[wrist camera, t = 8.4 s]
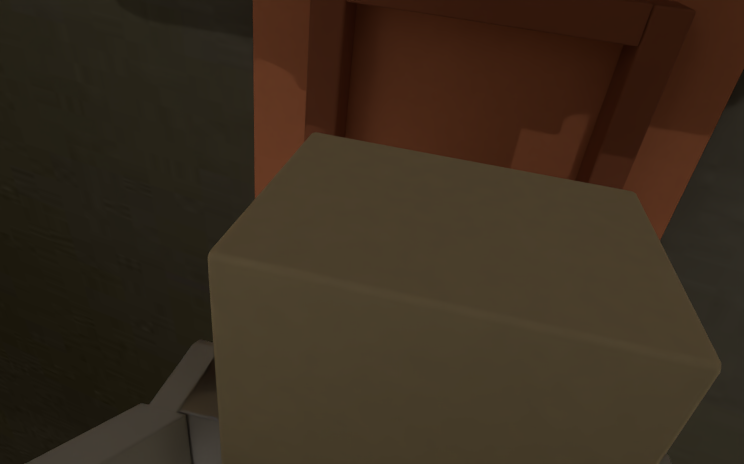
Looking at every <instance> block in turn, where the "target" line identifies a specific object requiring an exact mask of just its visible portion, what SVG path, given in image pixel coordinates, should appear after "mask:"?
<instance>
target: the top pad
mask: <svg viewBox="0 0 744 464" xmlns="http://www.w3.org/2000/svg"><path fill="white" fill-rule="evenodd" d="M208 270H209V285H210V299H211V314H212V328H213V343H214V358H215V372H216V387H217V401H218V416H219V430H220V445H221V460H222V464H659V463H660V462H661V460H662V459H663V457H664V456H665V454H666V453H667V451H668V450H669V448H670V447H671V445H672V444H673V442H674V441H675V439H676V438H677V436H678V435H679V433H680V432H681V430H682V429H683V427H684V426H685V424H686V423H687V421H688V420H689V418H690V417H691V415H692V414H693V412H694V411H695V409H696V408H697V406H698V405H699V403H700V402H701V400H702V399H703V397H704V396H705V394H706V393H707V391H708V390H709V388H710V387H711V385H712V384H713V382H714V381H715V379H716V378H717V376H718V375H719V373H720V372H721V362H720V360H719V358H718V356H717V354H716V352H715V350H714V348H713V346H712V344H711V342H710V340H709V338H708V336H707V334H706V332H705V330H704V328H703V326H702V324H701V322H700V320H699V318H698V316H697V314H696V312H695V310H694V308H693V306H692V304H691V302H690V300H689V298H688V296H687V294H686V292H685V290H684V288H683V286H682V284H681V282H680V280H679V278H678V276H677V274H676V272H675V270H674V268H673V266H672V264H671V262H670V260H669V258H668V256H667V254H666V252H665V250H664V248H663V246H662V244H661V242H660V240H659V238H658V236H657V234H656V232H655V230H654V228H653V226H652V224H651V222H650V221H649V219H648V217H647V215H646V213H645V211H644V209H643V207H642V205H641V203H640V201H639V199H638V197H637V195H636V193H634V192H633V191H627V190H622V189H617V188H611V187H606V186H601V185H595V184H590V183H584V182H579V181H574V180H568V179H563V178H558V177H552V176H547V175H542V174H536V173H531V172H526V171H520V170H515V169H510V168H504V167H499V166H493V165H488V164H483V163H477V162H472V161H467V160H461V159H456V158H451V157H445V156H440V155H435V154H429V153H424V152H418V151H413V150H408V149H402V148H397V147H392V146H386V145H381V144H376V143H370V142H365V141H360V140H354V139H349V138H343V137H338V136H333V135H327V134H322V133H317V132H315V133H312V134H311V135H310V136H309V137H308V138H307V140H306V141H305V142H304V143H303V144H302V145H301V146H300V148H299V149H298V150H297V151H296V152H295V153H294V155H293V156H292V157H291V158H290V159H289V160H288V162H287V163H286V164H285V165H284V166H283V167H282V168H281V170H280V171H279V172H278V173H277V174H276V175H275V177H274V178H273V179H272V180H271V181H270V182H269V183H268V185H267V186H266V187H265V188H264V189H263V190H262V192H261V193H260V194H259V195H258V196H257V197H256V198H255V200H254V201H253V202H252V203H251V204H250V205H249V207H248V208H247V209H246V210H245V211H244V212H243V214H242V215H241V216H240V217H239V218H238V219H237V220H236V222H235V223H234V224H233V225H232V226H231V227H230V229H229V230H228V231H227V232H226V233H225V234H224V235H223V237H222V238H221V239H220V240H219V241H218V242H217V244H216V245H215V246H214V247H213V248H212V249H211V251H210V252H209V254H208Z"/></svg>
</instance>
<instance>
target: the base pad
mask: <svg viewBox="0 0 744 464" xmlns="http://www.w3.org/2000/svg"><path fill="white" fill-rule="evenodd" d="M253 59H254V151H255V198H256V197H257V196H258V195H259V194H260V193H261V192H262V190H263V189H264V188H265V187H266V186H267V185H268V183H269V182H270V181H271V180H272V179H273V178H274V177H275V175H276V174H277V173H278V172H279V171H280V170H281V168H282V167H283V166H284V165H285V164H286V163H287V162H288V160H289V159H290V158H291V157H292V156H293V155H294V153H295V152H296V151H297V150H298V149H299V148H300V146H301V145H302V144H303V143H304V142H305V141H306V140H307V138H308V137H309V136H310V135H311V134H312V133H315V132H317V133H322V134H327V135H333V136H338V137H343V138H349V139H354V140H360V141H365V142H370V143H376V144H381V145H386V146H392V147H397V148H402V149H408V150H413V151H418V152H424V153H429V154H435V155H440V156H445V157H451V158H456V159H461V160H467V161H472V162H477V163H483V164H488V165H493V166H499V167H504V168H510V169H515V170H520V171H526V172H531V173H536V174H542V175H547V176H552V177H558V178H563V179H568V180H574V181H579V182H584V183H590V184H595V185H601V186H606V187H611V188H617V189H622V190H627V191H633V192H634V193H636V195H637V197H638V199H639V201H640V203H641V205H642V207H643V209H644V211H645V213H646V215H647V217H648V219H649V221H650V222H651V224H652V226H653V228H654V230H655V232H656V234H657V236H658V238H659V240H660V239H661V237H662V235H663V233H664V231H665V229H666V227H667V225H668V223H669V221H670V219H671V217H672V215H673V213H674V211H675V208H676V206H677V204H678V202H679V200H680V198H681V196H682V194H683V192H684V190H685V188H686V186H687V184H688V182H689V180H690V178H691V176H692V174H693V172H694V170H695V168H696V166H697V163H698V161H699V159H700V157H701V155H702V153H703V151H704V149H705V147H706V145H707V143H708V141H709V139H710V137H711V135H712V133H713V131H714V129H715V127H716V125H717V123H718V120H719V118H720V116H721V114H722V112H723V110H724V108H725V106H726V104H727V102H728V100H729V98H730V96H731V94H732V92H733V90H734V88H735V86H736V84H737V82H738V80H739V77H740V75H741V73H742V71H743V69H744V0H253Z"/></svg>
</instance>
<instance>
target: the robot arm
mask: <svg viewBox="0 0 744 464" xmlns="http://www.w3.org/2000/svg"><path fill="white" fill-rule="evenodd" d="M26 464H222V460H221V445H220V430H219V416H218V401H217V387H216V372H215V358H214V343H213V342H209V341H205V340H201V339H200V340H198V341H197V342H195V343H194V344H193V345H192V346H191V347H190V349H189V350H188V351H187V353H186V354H185V356H184V357H183V358H182V360H181V361H180V363H179V364H178V365H177V367H176V368H175V369H174V371H173V372H172V374H171V375H170V376H169V378H168V379H167V381H166V382H165V383H164V385H163V386H162V388H161V389H160V390H159V392H158V393H157V394H156V396H155V397H154V399H153V400H152V401H151V403H150V404H149V405H148V404H143V403H141V404H139V405H137V406H135V407H133V408H131V409H129V410H127V411H125V412H123V413H121V414H120V415H118V416H116V417H114V418H112V419H110V420H108V421H106V422H104V423H102V424H100V425H98V426H97V427H95V428H93V429H91V430H89V431H87V432H85V433H83V434H81V435H79V436H77V437H76V438H74V439H72V440H70V441H68V442H66V443H64V444H62V445H60V446H58V447H56V448H54V449H53V450H51V451H49V452H47V453H45V454H43V455H41V456H39V457H37V458H35V459H33V460H31V461H30V462H28V463H26ZM659 464H671V461H670V458H669V456H668V455H667V454H665V456H664V457H663V459H662V460H661V462H660V463H659Z"/></svg>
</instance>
